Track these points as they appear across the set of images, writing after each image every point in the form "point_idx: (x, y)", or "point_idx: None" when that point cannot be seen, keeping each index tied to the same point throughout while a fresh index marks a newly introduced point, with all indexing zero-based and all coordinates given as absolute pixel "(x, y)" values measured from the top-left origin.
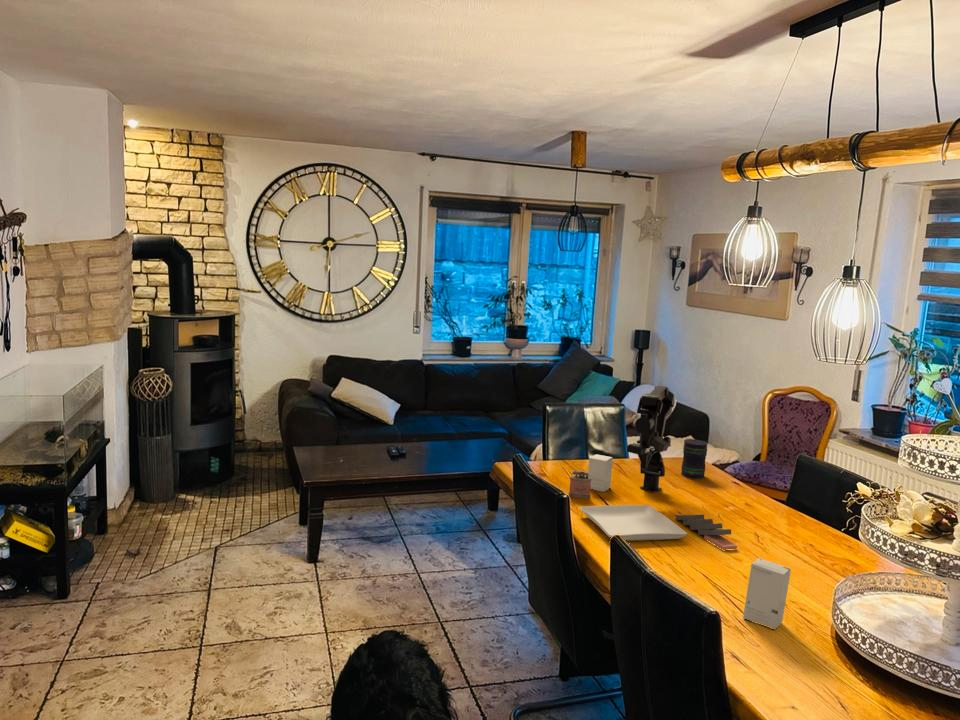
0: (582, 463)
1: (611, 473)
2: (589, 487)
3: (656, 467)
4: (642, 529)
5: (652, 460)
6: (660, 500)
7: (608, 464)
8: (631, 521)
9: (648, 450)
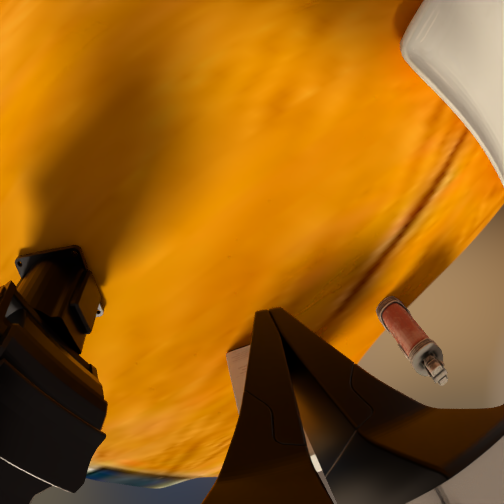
0: (137, 462)
1: (238, 403)
2: (411, 322)
3: (29, 339)
4: (496, 23)
5: (42, 407)
6: (141, 131)
7: (305, 432)
8: (485, 67)
9: (490, 489)
